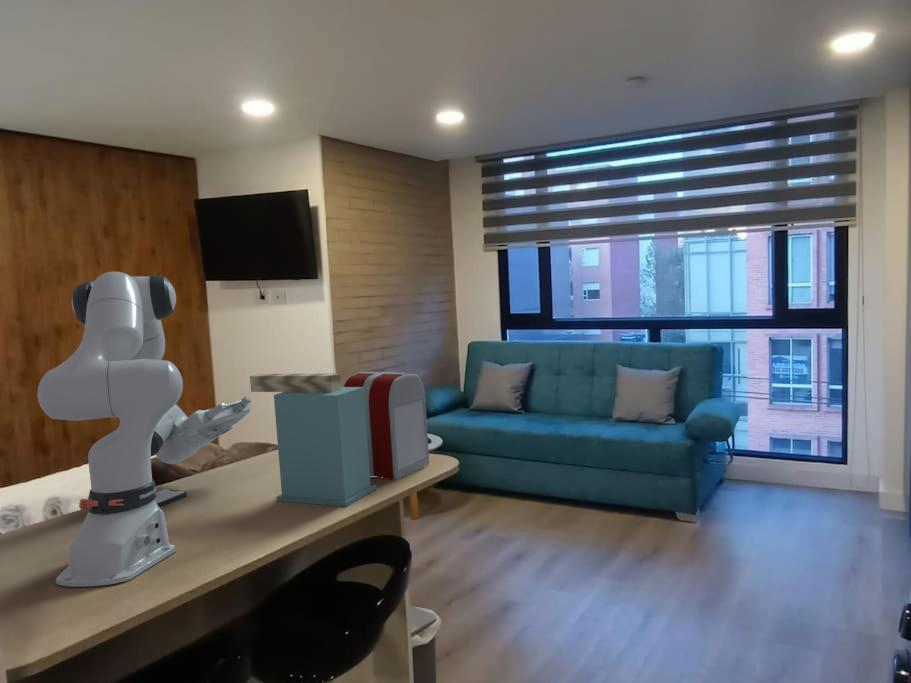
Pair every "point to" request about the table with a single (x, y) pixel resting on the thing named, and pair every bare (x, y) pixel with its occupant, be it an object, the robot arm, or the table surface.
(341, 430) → the tall teal upright box
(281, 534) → the table surface
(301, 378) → the rail
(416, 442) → the red striped toaster
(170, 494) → the phone case
